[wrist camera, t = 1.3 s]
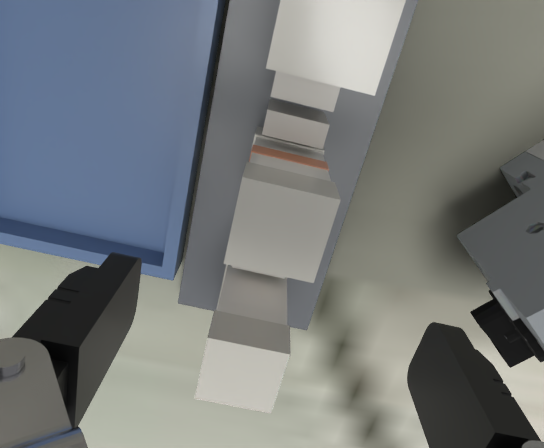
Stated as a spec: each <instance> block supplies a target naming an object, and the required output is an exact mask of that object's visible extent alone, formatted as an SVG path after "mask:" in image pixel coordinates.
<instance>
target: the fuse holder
mask: <svg viewBox="0 0 544 448" xmlns="http://www.w3.org/2000/svg"><path fill="white" fill-rule="evenodd" d="M417 3H418V0H406V2H405V5H404V8H403V11H402V14H401V17H400V20H399V23H398V26H397V29H396V32H395V35H394V38H393V41H392V45H391V48H390V51H389V54H388V57H387V60H386V63H385V66H384V69H383V72H382V75H381V78H380V81H379V84H378V87H377V91H376V94H375V96H373V95H369V94H365V93H361V92H357V91H354V90H350V89H346V88H342V87H338V86H334V85H330V84H326V83H322V82H318V81H314V80H310V79H306V78H302V77H298V76H294V75H290V74H286V73H282V72H278V71H274V70H270V69H266V65H267V60H268V56H269V51H270V47H271V42H272V37H273V33H274V28H275V23H276V19H277V14H278V10H279V5H280V0H230V2H229V8H228V14H227V20H226V26H225V31H224V37H223V43H222V49H221V55H220V60H219V66H218V72H217V78H216V84H215V90H214V95H213V101H212V107H211V113H210V119H209V125H208V130H207V136H206V142H205V148H204V154H203V159H202V165H201V171H200V177H199V183H198V189H197V194H196V200H195V206H194V212H193V218H192V224H191V229H190V235H189V241H188V247H187V253H186V258H185V264H184V270H183V276H182V282H181V288H180V293H179V299H178V303H179V304H183V305H188V306H193V307H198V308H203V309H207V310H212V311H214V310H216V309H217V304H218V300H219V295H220V291H221V286H222V282H223V277H224V272H225V268H226V264H224V259H225V255H226V250H227V245H228V241H229V236H230V232H231V227H232V222H233V218H234V213H235V208H236V204H237V199H238V195H239V190H240V185H241V181H242V176H243V173H244V169H245V166H246V163H247V162H249V159H250V154H251V149H252V145H253V140H254V136H255V132H256V129H257V126H259V127H263V131H262V135H265V136H269V137H273V138H278V139H282V140H286V141H290V142H294V143H298V144H302V145H307V146H311V147H315V148H319V149H323V147H324V155H323V156H324V160H325V162H327V164H328V168H329V171H328V173H329V176H330V179H331V182H335V184H336V187H337V190H338V193H339V196H340V199H341V201H340V204H339V207H338V210H337V213H336V216H335V219H334V222H333V225H332V228H331V232H330V235H329V238H328V241H327V244H326V247H325V250H324V253H323V256H322V259H321V262H320V265H319V268H318V271H317V274H316V278H315V281H314V283H310V282H306V281H301V280H297V279H292V278H287V325H288V326H290V327H293V328H298V329H303V330H307V329H308V326H309V323H310V320H311V317H312V314H313V311H314V308H315V305H316V302H317V299H318V296H319V293H320V290H321V287H322V284H323V281H324V279H325V276H326V273H327V270H328V267H329V264H330V261H331V258H332V255H333V252H334V249H335V246H336V243H337V240H338V237H339V234H340V231H341V228H342V225H343V222H344V219H345V216H346V213H347V210H348V207H349V204H350V201H351V198H352V195H353V192H354V189H355V187H356V184H357V181H358V178H359V175H360V172H361V169H362V166H363V163H364V160H365V157H366V154H367V151H368V148H369V145H370V142H371V139H372V136H373V133H374V130H375V127H376V124H377V121H378V118H379V115H380V112H381V109H382V106H383V103H384V100H385V98H386V95H387V92H388V89H389V86H390V83H391V80H392V77H393V74H394V71H395V68H396V65H397V62H398V59H399V56H400V53H401V50H402V47H403V44H404V41H405V38H406V35H407V32H408V29H409V26H410V23H411V20H412V17H413V14H414V11H415V8H416V6H417ZM232 267H233V268H237V269H242V270H246V271H251V272H256V273H260V274H265V275H269V276H274V277H279V278H283V279H285V277H283V276H278V275H274V274H269V273H264V272H260V271H255V270H251V269H246V268H241V267H237V266H232Z"/></svg>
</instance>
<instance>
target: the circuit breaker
mask: <svg viewBox="0 0 544 448" xmlns="http://www.w3.org/2000/svg"><path fill="white" fill-rule="evenodd" d="M500 169H501V171H502V173H503V174H504V176H505V178H506V179H507V181H508V183H509V184H510V186H511V188H512V189H513V191H514V193H515V194H516V196H517V198H516V199H514V200H513V201H511V202H509V203H508V204H506V205H505V206H503V207H501V208H500V209H498V210H496V211H495V212H493V213H492V214H490V215H488V216H487V217H485V218H483V219H482V220H480V221H478V222H477V223H475V224H474V225H472V226H470V227H469V228H467V229H465V230H464V231H462V232H461V233H459V234H458V235H457V237H458V239H459V240H460V242H461V243H462V245H463V246H464V248H465V249H466V250H467V252H468V253H469V255H470V256H471V258H472V259H473V261H474V262H475V263H476V265H477V266H478V268H479V269H480V271H481V272H482V274H483V275H484V276H485V278H486V279H487V281H488V282H487V283H486V284H487V285H488V287H489V288H490V290H489V293H490V295H491V296H492V298H493V300H491V301H489V302H487V303H485V304H484V305H482V306H480V307H478V308H476V309H475V310H473V311H471V312H470V313H471V314H472V316H473V317H474V319H475V320H476V322H477V323H478V324H479V326H480V327H481V328H482V330H483V331H484V332H485V333H486V334H487V335H488V337H489V338H490V339H491V341H492V343H493V344H494V346H495V347H496V349H497V350H498V352H499V353H500V355H501V356H502V357H503V359H504V360H505V362H506V363H507V364H508V366H509V367H510V368H511V367H513V366H515V365H517V364H519V363H521V362H523V361H525V360H526V359H528V358H530V357H532V356H534V355H535V357H536V358H537V359H538V360H539V361H540V362H543V361H544V140H542V141H541V142H539V143H537V144H536V145H534V146H533V147H531V148H530V149H528V150H526V152H523V153H522V154H520V155H519V156H517V157H516V158H514V159H512V160H511V161H509V162H508V163H506V164H505V165H503V166H501V167H500Z"/></svg>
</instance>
